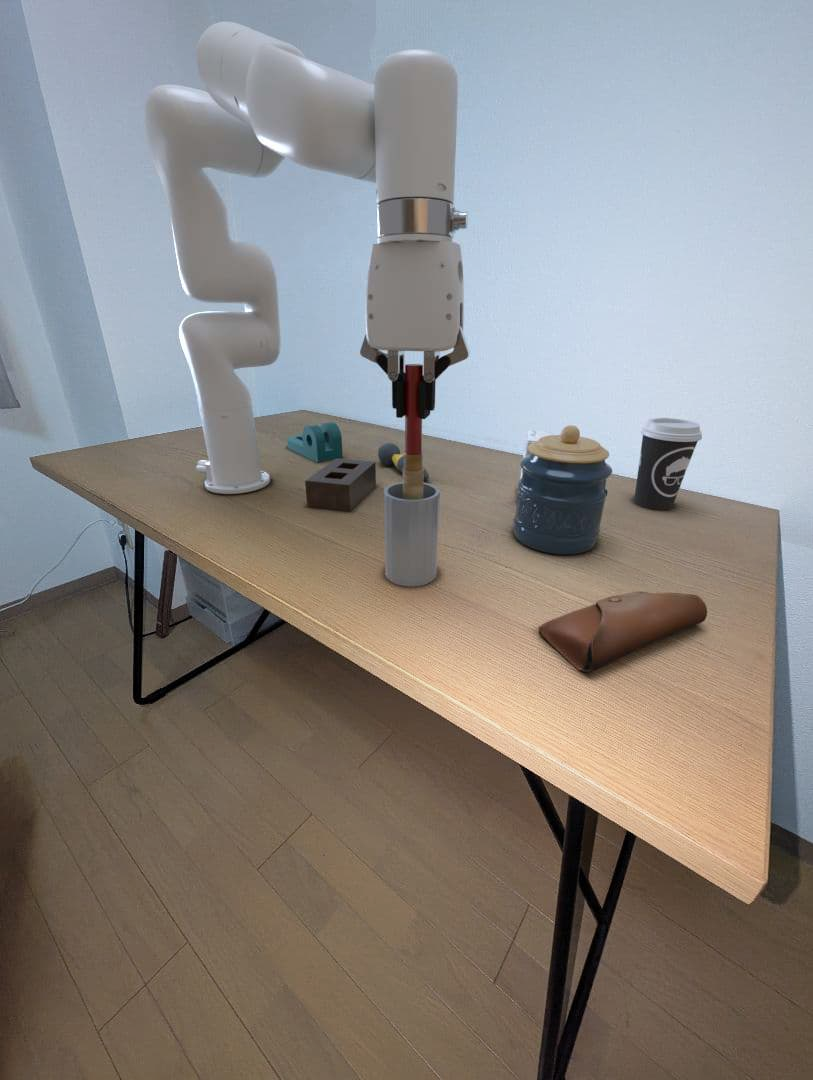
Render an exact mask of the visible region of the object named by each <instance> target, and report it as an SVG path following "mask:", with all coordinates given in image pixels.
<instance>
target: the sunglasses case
mask: <svg viewBox="0 0 813 1080" xmlns="http://www.w3.org/2000/svg"><path fill="white" fill-rule="evenodd" d="M707 617H708V609H707V605H706V603H705V601H704V600H703V599H702V597H700V596H699V595H697V594H693V593H683V592H647V591H632V592H628V593H624V594H617V595H611V596H607V597H604V598H602V599H599V600H597V601H596V603H594V604H591V605H588V606H585V607H582V608H579V609H576V610H573V611H571V612H568V613H566V614H563V615H560V616H558V617H555V618H552V619H551V620H548V621H546V622H544V623H542V624H541V625H539V626H538V633H539V634H540V635H541V636H542V637H543V638H544V639H545V641H547V643H548V644H549V645H550V646H551V647H552V648H553V649H554V650H555V651H556V652H557V653H558V654H559V655H560V656H562V657H563V658H564V659H565V660H566V661H567V662H568V663H569V664H570V665H571V666H573V668H575V669H576V670H577V671H579V672H582V673H588V672H591V671H596V670H598V669H600V668H602V667H604V666H607V665H609V664H610V663H611V664H612V662H614V661H617V660H619V659H621V658H623V657H624V656H627V655H629V654H631V653H633V652H635V651H637V650H639V649H641V648H644V647H646V646H649V645H651V644H653V643H656V642H659V641H661V640H662V639H664V638H667V637H670V636H672V635H675V634H677V633H680V632H682V631H684V630H686V629H690V628H691V627H694V626H697V625H699V624H702V623H704V622H705V621H706V619H707Z"/></svg>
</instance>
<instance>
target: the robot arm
mask: <svg viewBox="0 0 813 1080" xmlns="http://www.w3.org/2000/svg"><path fill="white" fill-rule="evenodd" d="M196 64H197V65H196V66H197V70H198V74H199V77H200V79H201V82H202V84H203V86H204V88H205V90H206V91H205V90H201V89H198V88H194V87H190V86H185V85H180V84H168V83H167V84H159V85H157V86H155V87H153V88H152V89H151V90H150V92H149V93H148V94H147V97H146V101H145V105H144V124H145V125H144V127H145V133H146V140H147V144H148V149H149V153H150V155H151V156H150V157H151V159H152V161H153V165H154V167H155V170H156V172H157V175H158V177H159V180H160V182H161V186H162V188H163V191H164V194H165V197H166V200H167V204H168V208H169V217H170V222H171V229H172V230H171V231H172V236H173V242H174V248H175V255H176V260H177V261H176V262H177V266H178V272H179V278H180V281H181V284H182V285H181V286H182V288H183V290H184V292H185V293H186V295H187V297H189V298H190V299H191V300H194V301H196V302H200V303H206V304H242V305H243V306H244V311H201V312H200V311H199V312H195V313H192V314H189V315H187V316H186V317H184V318H183V320H182V321H181V322H180V325H179V329H178V330H179V331H178V335H179V341H180V345H181V349H182V351H183V354H184V356H185V359H186V362H187V365H188V368H189V371H190V374H191V377H192V381H193V386H194V391H195V396H196V399H197V405H198V410H199V416H200V421H201V426H202V432H203V437H204V442H205V447H206V451H207V452H206V454H207V457H208V460H205V459H204V460H203V459H200V460H198V462H197V465H196V466H195V471H196V473H199V474H200V473H202V474H203V473H204V474H206V479H205V480H204V487H205V489H206V490H207V491H209V492H211V493H214V494H220V495H236V494H237V495H238V494H239V495H240V494H246V493H250V492H255V491H258V490H261V489H263V488H265V487H267V486H268V485H270V482H271V475H270V474H269V473H268V472H266V471H264V470H262V468H261V460H260V453H259V446H258V445H259V444H258V438H257V431H256V425H255V423H256V422H255V417H254V410H253V403H252V397H251V393H250V390H249V389H248V387H247V385H246V383H244V382H243V380H242V379H241V378H240V376H238V375H237V373H236V372H235V370H239V369H245V368H246V369H248V368H258V367H266V366H271V365H272V364H274V363H275V362H276V361H277V360H278V359H279V356H280V353H281V346H282V345H281V340H282V339H281V324H280V307H279V305H280V304H279V290H278V289H279V288H278V280H277V272H276V269H275V266H274V263H273V261H272V259H271V257H270V255H269V253H268V252H267V251H266V250H265V249H264V248H263V247H262V246H260V245H258V244H256V243H253V242H247V241H237V240H232V239H231V235H230V229H229V221H228V220H229V219H228V211H227V207H226V204H225V201H224V199H223V197H222V195H221V194H220V192H219V190H218V188H217V187H216V185H215V184H214V182H213V181H212V179H211V178H210V177H209V175H208V174H207V173H206V172H205V171H204V169H208V170H209V169H210V170H213V171H218V172H222V173H227V174H233V175H239V176H243V177H249V178H254V179H260V178H261V179H262V178H266V177H268V176H270V175H272V174H273V173H274V172H275V171H276V170H277V169H278V168H279V166H280V165H281V164H282V162H283V161H284V160H285V159H287V160H289V161H290V162H293V163H294V164H297V165H300V166H301V167H305V168H308V169H310V170H316V171H320V172H325V173H330V174H333V175H339V176H343V177H348V178H352V179H355V180H358V181H359V180H360V181H363V182H368V183H373V184H375V191H376V193H375V194H376V232H377V234H376V235H377V236H376V237H377V243H372V244H371V248H370V252H369V253H370V254H369V260H368V268H367V277H366V288H365V289H366V290H365V291H366V292H365V318H364V319H365V323H364V324H365V335H364V338H363V340H362V344H361V347H360V350H359V354H360V356H361V357H362V358H364V359H367V361H370V362H372V363H374V364H377V366H379V367H380V369H382V371H383V372H384V373H385V374H386V375H387V379H389V381H391V406H392V409H393V410H395V416H396V418H398V419H402V418H404V417H405V365H406V352H423V376H422V382H421V383H419V406H418V417H419V418H420V419H422V420H426V419H427V418H428V417H429V416H430V415H431V411H434V410H435V407H436V381H437V379H438V378H439V377H440V376H441V375H442V374H443V373H444V372H445V371H446V370H448V368H449V367H451V366H453V365H456V364H458V363H461V362H463V361H465V360H467V359H469V358H470V355H471V352H470V349H469V346H468V343H467V340H466V337H465V333H464V327H465V326H464V325H465V323H464V322H465V314H464V313H465V304H464V303H465V294H464V293H465V288H464V284H465V283H464V266H463V256H462V248H461V244H459V243H457V242H453V239H454V238H455V234H457V231H460V230H463V229H464V230H465V229H468V223H469V213H468V211H462V212H461V211H460V210H457V209H456V207H455V206H454V204H455V203H454V202H455V198H454V197H455V177H456V176H455V175H456V151H457V150H456V149H457V127H458V126H457V123H458V122H457V121H458V98H459V97H458V95H459V82H458V75H457V71H456V69H455V66H454V64H453V63H452V62H451V60H450V59H448V57H446V56H445V55H444V54H442V53H440V52H437V51H434V50H431V49H424V48H423V49H422V48H410V49H404V50H399V51H396V52H393V53H391V54H389V55H388V56H386V57H385V58H384V59H383V60H382V61H381V62H380V64H379V65H378V67H377V69H376V72H375V76H374V81H373V82H374V84H373V83H370V82H369V81H365V80H363V79H360V78H358V77H356V76H353V75H350V74H348V73H345V72H343V71H340V70H337V69H335V68H332V67H329V66H327V65H324V64H321V63H318V62H316V61H313V60H311V59H308V58H307V57H306V55H305V54H304V53H303V52H302V51H301V50H300V49H299V48H298V47H296V46H295V45H294V44H292V43H289V42H286V41H284V40H281V39H279V38H275V37H273V36H271V35H268V34H265V33H263V32H261V31H258V30H256V29H254V28H251V27H248V26H246V25H244V24H241V23H238V22H234V21H219V22H215V23H213V24H211V25H210V26H209V27H207V28H206V29H205V30H204V31H203V32H202V34H201V36H200V38H199V40H198V43H197V47H196ZM451 349H453V350H452V351H451V352H449V353H446V354H445V355H442V356H441V352H446V351H449V350H451ZM383 351H387V353H385V352H383Z"/></svg>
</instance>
